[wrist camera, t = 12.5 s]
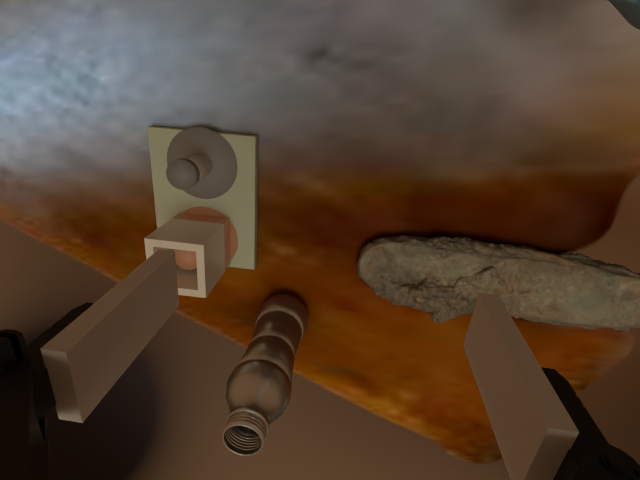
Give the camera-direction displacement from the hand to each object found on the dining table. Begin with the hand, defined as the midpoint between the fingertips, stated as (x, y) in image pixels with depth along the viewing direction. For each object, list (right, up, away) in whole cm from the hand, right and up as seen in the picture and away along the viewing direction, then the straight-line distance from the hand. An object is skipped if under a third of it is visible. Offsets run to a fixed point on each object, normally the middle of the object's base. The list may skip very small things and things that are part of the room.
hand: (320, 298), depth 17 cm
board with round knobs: (-13, +7, +29) cm, 33 cm away
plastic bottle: (-4, -7, +34) cm, 35 cm away
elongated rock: (+22, -2, +29) cm, 37 cm away
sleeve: (-14, +3, +29) cm, 32 cm away
